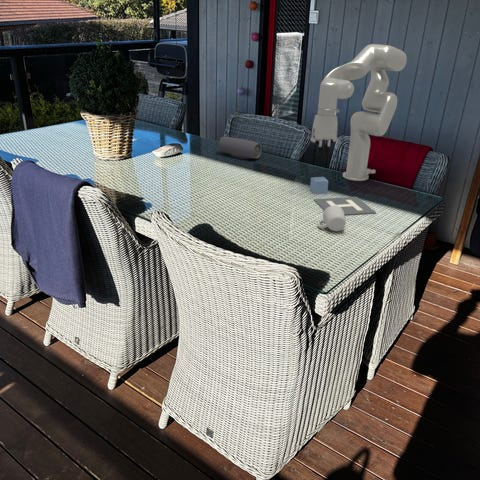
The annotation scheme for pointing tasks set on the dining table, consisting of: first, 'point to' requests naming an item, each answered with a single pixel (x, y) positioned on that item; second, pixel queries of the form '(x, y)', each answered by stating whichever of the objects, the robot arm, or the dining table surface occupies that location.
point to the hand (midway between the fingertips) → (322, 154)
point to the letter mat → (346, 205)
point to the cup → (333, 218)
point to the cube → (319, 185)
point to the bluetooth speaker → (240, 147)
